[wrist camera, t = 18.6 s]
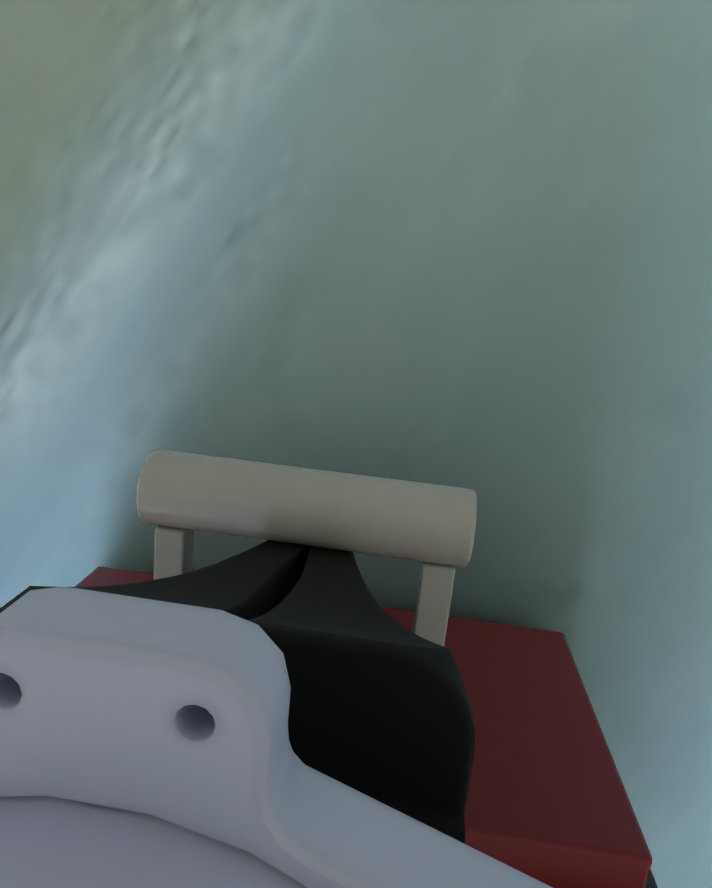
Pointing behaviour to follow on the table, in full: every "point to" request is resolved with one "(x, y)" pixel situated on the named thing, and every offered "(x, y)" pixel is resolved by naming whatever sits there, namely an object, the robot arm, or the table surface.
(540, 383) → the table surface
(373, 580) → the table surface
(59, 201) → the table surface
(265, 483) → the drawer
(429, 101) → the table surface
